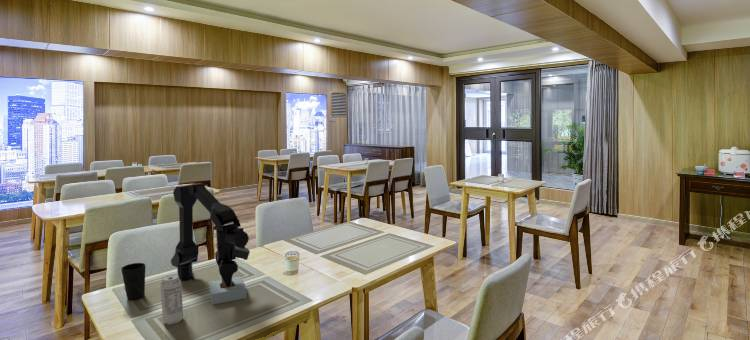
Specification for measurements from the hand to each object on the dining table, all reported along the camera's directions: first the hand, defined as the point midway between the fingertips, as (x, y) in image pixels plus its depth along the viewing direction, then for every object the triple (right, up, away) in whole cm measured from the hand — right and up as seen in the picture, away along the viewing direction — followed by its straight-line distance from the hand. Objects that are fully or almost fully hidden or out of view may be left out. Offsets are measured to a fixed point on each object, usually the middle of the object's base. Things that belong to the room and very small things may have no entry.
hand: (227, 282), depth 151 cm
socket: (0, -5, +1) cm, 5 cm away
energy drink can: (-11, -8, -19) cm, 23 cm away
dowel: (0, -5, +1) cm, 5 cm away
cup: (-33, -5, -1) cm, 34 cm away
